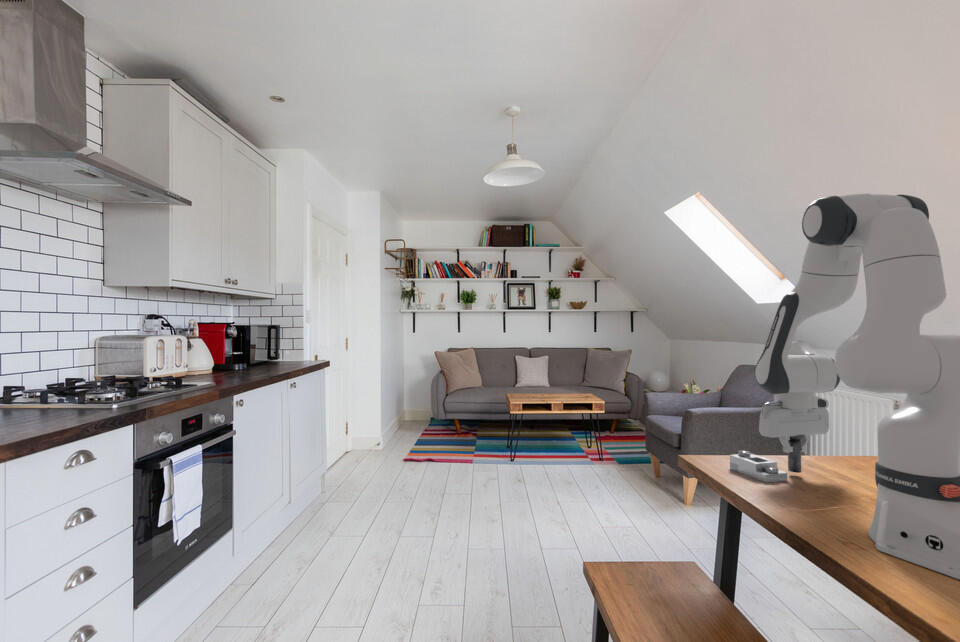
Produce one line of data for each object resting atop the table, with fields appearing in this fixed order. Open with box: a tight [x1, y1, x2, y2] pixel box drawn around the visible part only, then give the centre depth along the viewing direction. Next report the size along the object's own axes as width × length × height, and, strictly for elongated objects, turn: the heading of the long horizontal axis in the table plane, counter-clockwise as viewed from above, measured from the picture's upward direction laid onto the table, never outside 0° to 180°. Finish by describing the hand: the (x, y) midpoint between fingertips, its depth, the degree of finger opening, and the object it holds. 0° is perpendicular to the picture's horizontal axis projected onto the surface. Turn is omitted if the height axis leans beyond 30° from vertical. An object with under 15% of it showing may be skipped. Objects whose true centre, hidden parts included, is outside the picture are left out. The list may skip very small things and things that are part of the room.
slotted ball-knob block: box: [729, 450, 788, 484], centre depth 126 cm, size 12×7×5 cm, turn 14°
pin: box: [787, 435, 804, 474], centre depth 125 cm, size 4×4×10 cm
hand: (794, 452), depth 125 cm, fingers closed on pin, 3 cm apart
